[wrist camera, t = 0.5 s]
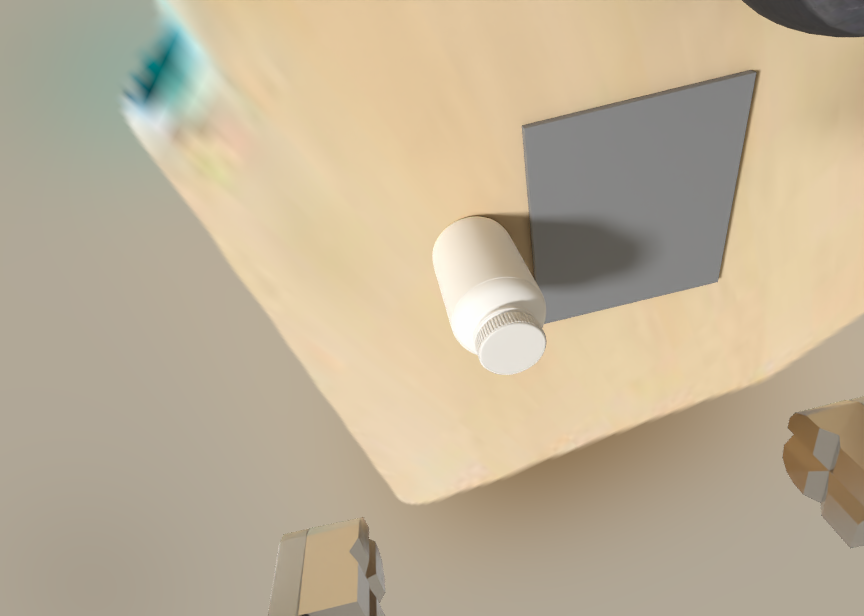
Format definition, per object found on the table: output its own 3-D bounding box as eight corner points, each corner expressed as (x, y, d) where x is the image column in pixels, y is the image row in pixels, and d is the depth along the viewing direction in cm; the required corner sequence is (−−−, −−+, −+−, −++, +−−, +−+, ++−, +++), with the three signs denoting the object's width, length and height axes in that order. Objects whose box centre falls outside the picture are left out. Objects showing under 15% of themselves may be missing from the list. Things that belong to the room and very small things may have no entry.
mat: (521, 125, 44) (524, 128, 44) (750, 70, 44) (756, 72, 44) (538, 320, 58) (540, 324, 57) (713, 277, 58) (717, 281, 57)
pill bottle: (524, 256, 53) (578, 356, 41) (456, 296, 54) (489, 403, 43) (488, 197, 48) (537, 290, 36) (415, 242, 50) (439, 345, 38)
